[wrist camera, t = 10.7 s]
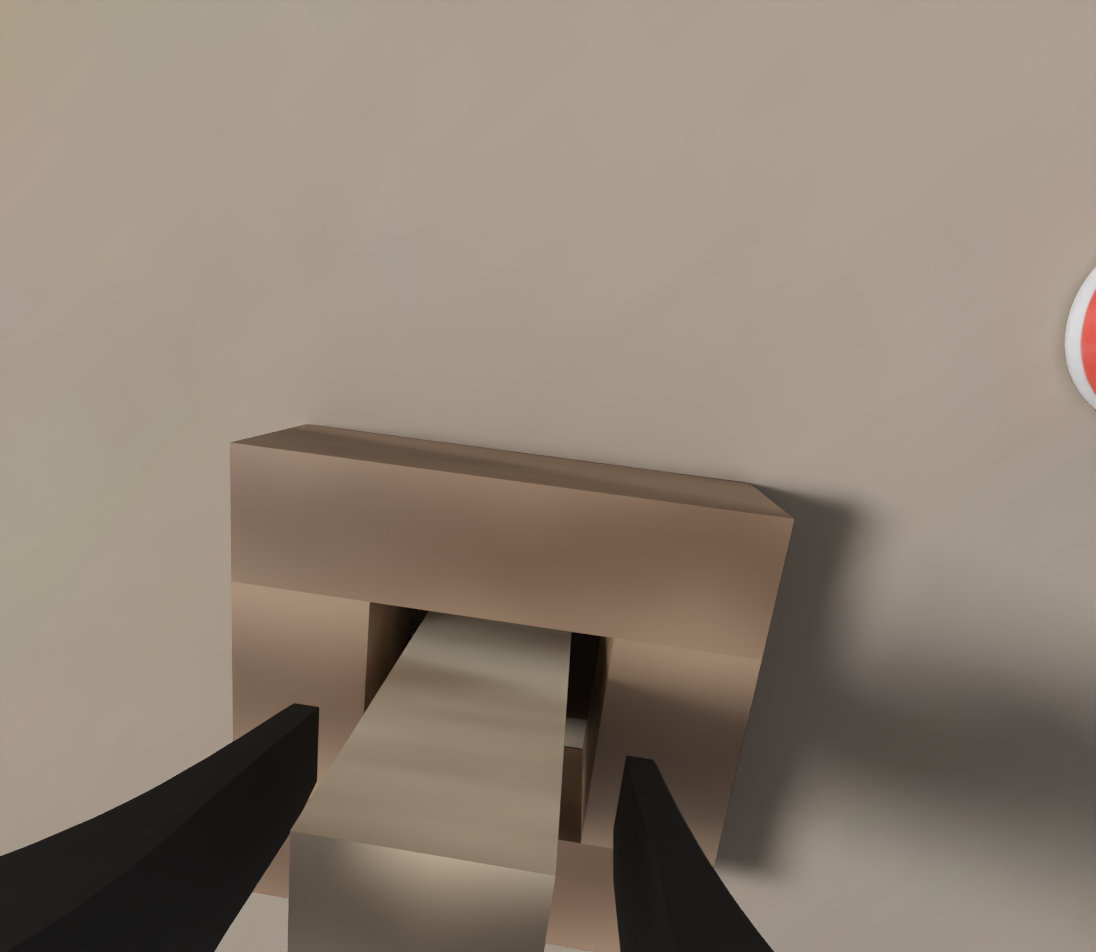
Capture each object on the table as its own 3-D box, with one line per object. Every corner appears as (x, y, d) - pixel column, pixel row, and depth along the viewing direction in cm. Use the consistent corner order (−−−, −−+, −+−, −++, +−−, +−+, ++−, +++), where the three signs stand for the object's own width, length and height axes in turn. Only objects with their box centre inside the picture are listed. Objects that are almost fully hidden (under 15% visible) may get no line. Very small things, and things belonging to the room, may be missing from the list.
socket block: (671, 854, 18) (690, 968, 15) (298, 793, 19) (234, 889, 16) (749, 483, 15) (794, 518, 12) (306, 424, 16) (230, 442, 13)
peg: (556, 716, 18) (524, 1074, 9) (435, 697, 18) (286, 1029, 9) (573, 603, 17) (555, 875, 8) (445, 584, 17) (290, 830, 8)
